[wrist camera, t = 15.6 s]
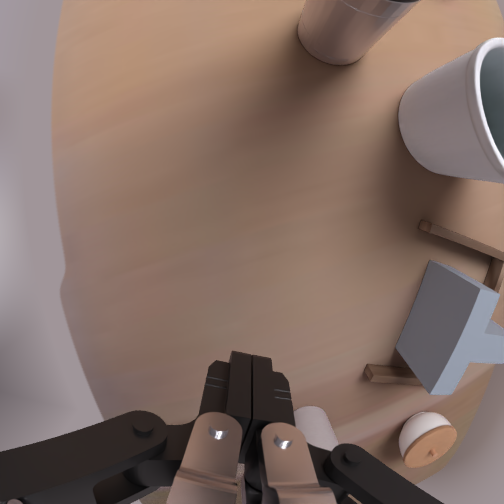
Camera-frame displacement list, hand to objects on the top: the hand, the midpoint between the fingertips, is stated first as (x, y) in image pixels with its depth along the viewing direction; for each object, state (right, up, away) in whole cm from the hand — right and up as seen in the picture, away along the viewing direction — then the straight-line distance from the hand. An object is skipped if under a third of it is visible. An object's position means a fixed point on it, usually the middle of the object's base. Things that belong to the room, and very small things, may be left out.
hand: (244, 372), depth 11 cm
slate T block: (+29, -4, +29) cm, 41 cm away
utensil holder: (+25, +22, +23) cm, 40 cm away
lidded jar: (+31, -28, +35) cm, 55 cm away
